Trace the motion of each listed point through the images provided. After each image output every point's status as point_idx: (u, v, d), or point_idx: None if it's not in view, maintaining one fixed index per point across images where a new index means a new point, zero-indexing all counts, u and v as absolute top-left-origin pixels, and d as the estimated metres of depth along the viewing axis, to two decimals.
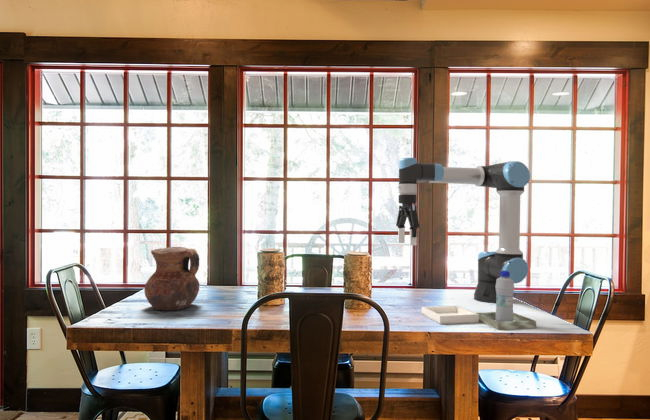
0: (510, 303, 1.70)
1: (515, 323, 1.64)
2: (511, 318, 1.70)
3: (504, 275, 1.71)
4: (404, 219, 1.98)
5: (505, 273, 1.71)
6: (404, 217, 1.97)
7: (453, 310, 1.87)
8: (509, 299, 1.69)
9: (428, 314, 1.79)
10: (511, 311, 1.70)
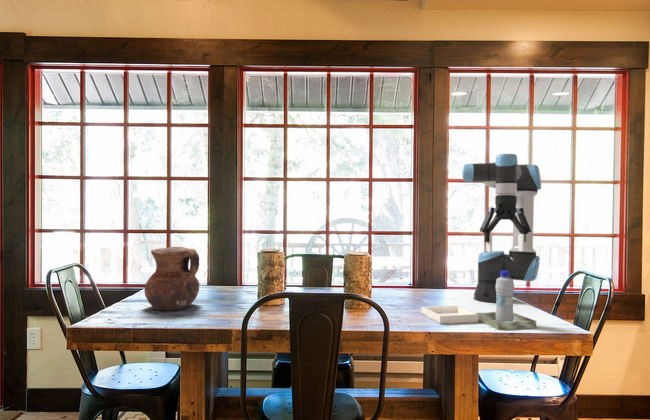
0: (510, 303, 1.70)
1: (515, 323, 1.64)
2: (511, 318, 1.70)
3: (504, 275, 1.71)
4: (516, 224, 1.73)
5: (505, 273, 1.71)
6: (513, 221, 1.73)
7: (453, 310, 1.87)
8: (509, 299, 1.69)
9: (428, 314, 1.79)
10: (511, 311, 1.70)
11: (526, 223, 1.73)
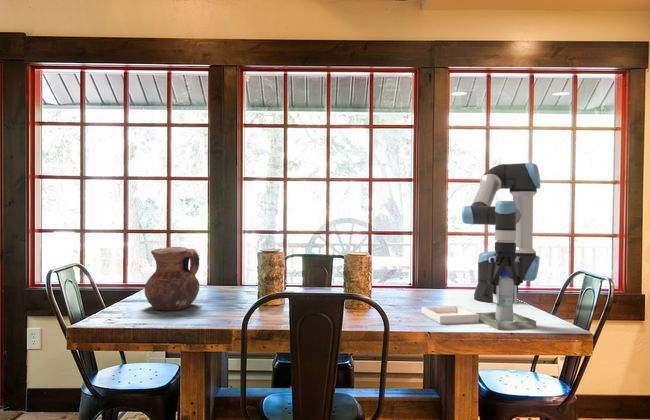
0: (510, 303, 1.70)
1: (515, 323, 1.64)
2: (511, 318, 1.70)
3: (504, 275, 1.71)
4: (511, 272, 1.73)
5: (505, 273, 1.71)
6: (510, 269, 1.73)
7: (453, 310, 1.87)
8: (509, 299, 1.69)
9: (428, 314, 1.79)
10: (511, 311, 1.70)
11: (521, 273, 1.72)
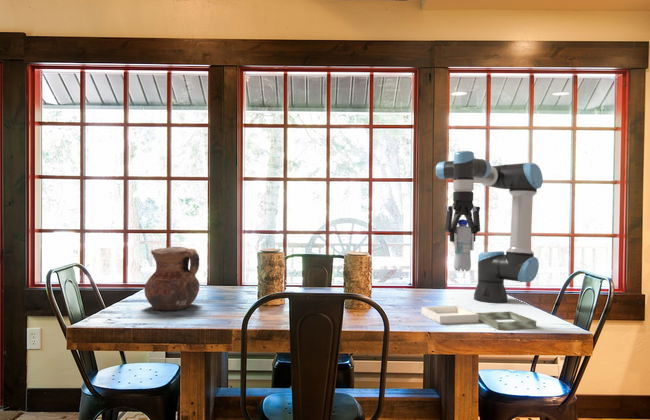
0: (467, 250, 1.75)
1: (515, 323, 1.64)
2: (468, 265, 1.75)
3: (462, 223, 1.76)
4: (468, 221, 1.78)
5: (463, 221, 1.76)
6: (467, 218, 1.78)
7: (453, 310, 1.87)
8: (466, 246, 1.75)
9: (428, 314, 1.79)
10: (468, 258, 1.75)
11: (478, 222, 1.78)
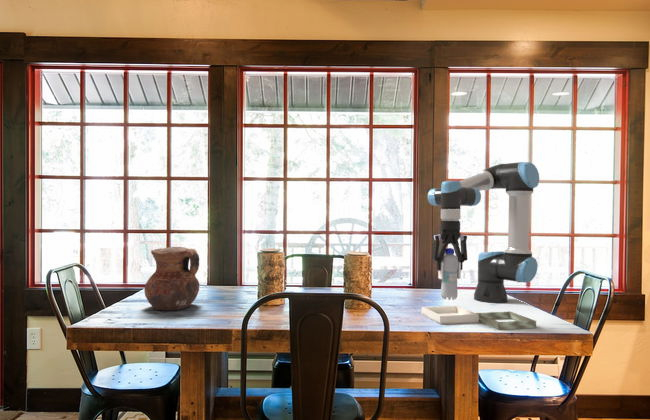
0: (454, 279, 1.76)
1: (515, 323, 1.64)
2: (455, 293, 1.76)
3: (448, 252, 1.78)
4: (456, 250, 1.79)
5: (449, 250, 1.78)
6: (454, 246, 1.80)
7: (453, 310, 1.87)
8: (453, 275, 1.76)
9: (428, 314, 1.79)
10: (455, 287, 1.77)
11: (465, 251, 1.79)
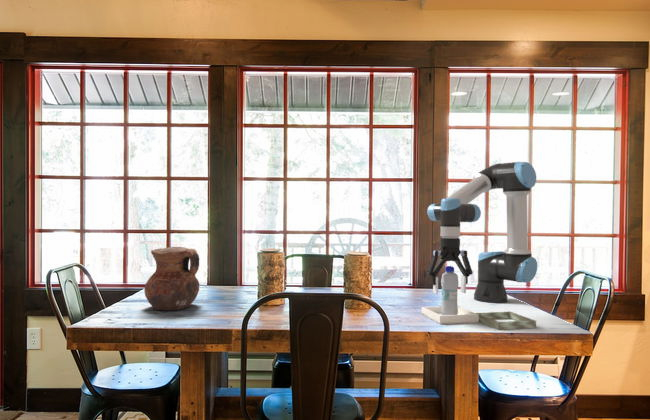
0: (454, 297, 1.77)
1: (515, 323, 1.64)
2: (455, 311, 1.77)
3: (448, 270, 1.78)
4: (459, 265, 1.80)
5: (449, 268, 1.78)
6: (457, 263, 1.80)
7: None
8: (453, 293, 1.76)
9: (428, 314, 1.79)
10: (455, 305, 1.77)
11: (468, 265, 1.80)
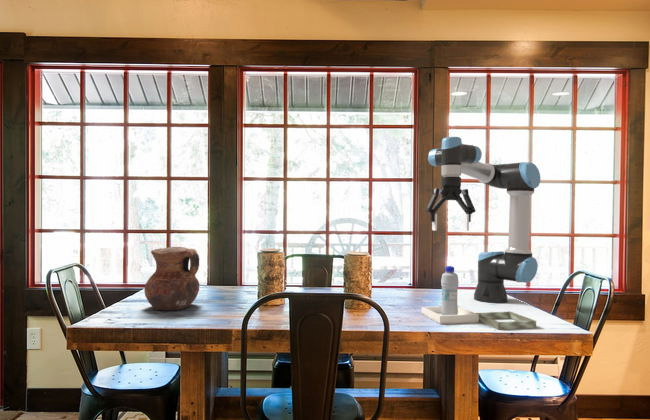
0: (454, 297, 1.77)
1: (515, 323, 1.64)
2: (455, 311, 1.77)
3: (448, 270, 1.78)
4: (461, 204, 1.80)
5: (449, 268, 1.78)
6: (458, 202, 1.80)
7: None
8: (453, 293, 1.76)
9: (428, 314, 1.79)
10: (455, 305, 1.77)
11: (471, 203, 1.80)
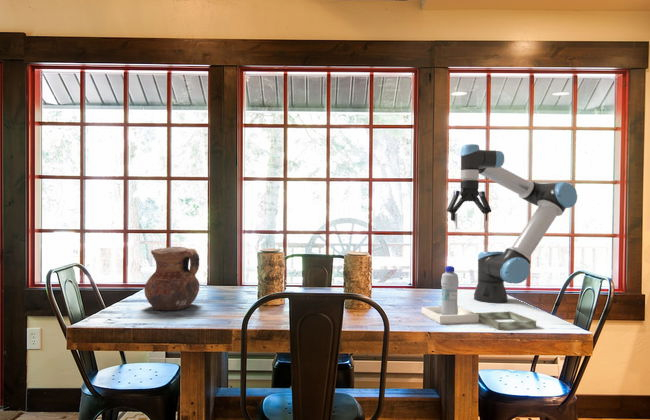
0: (454, 297, 1.77)
1: (515, 323, 1.64)
2: (455, 311, 1.77)
3: (448, 270, 1.78)
4: (478, 205, 2.00)
5: (449, 268, 1.78)
6: (476, 202, 2.00)
7: None
8: (453, 293, 1.76)
9: (428, 314, 1.79)
10: (455, 305, 1.77)
11: (487, 204, 2.00)
